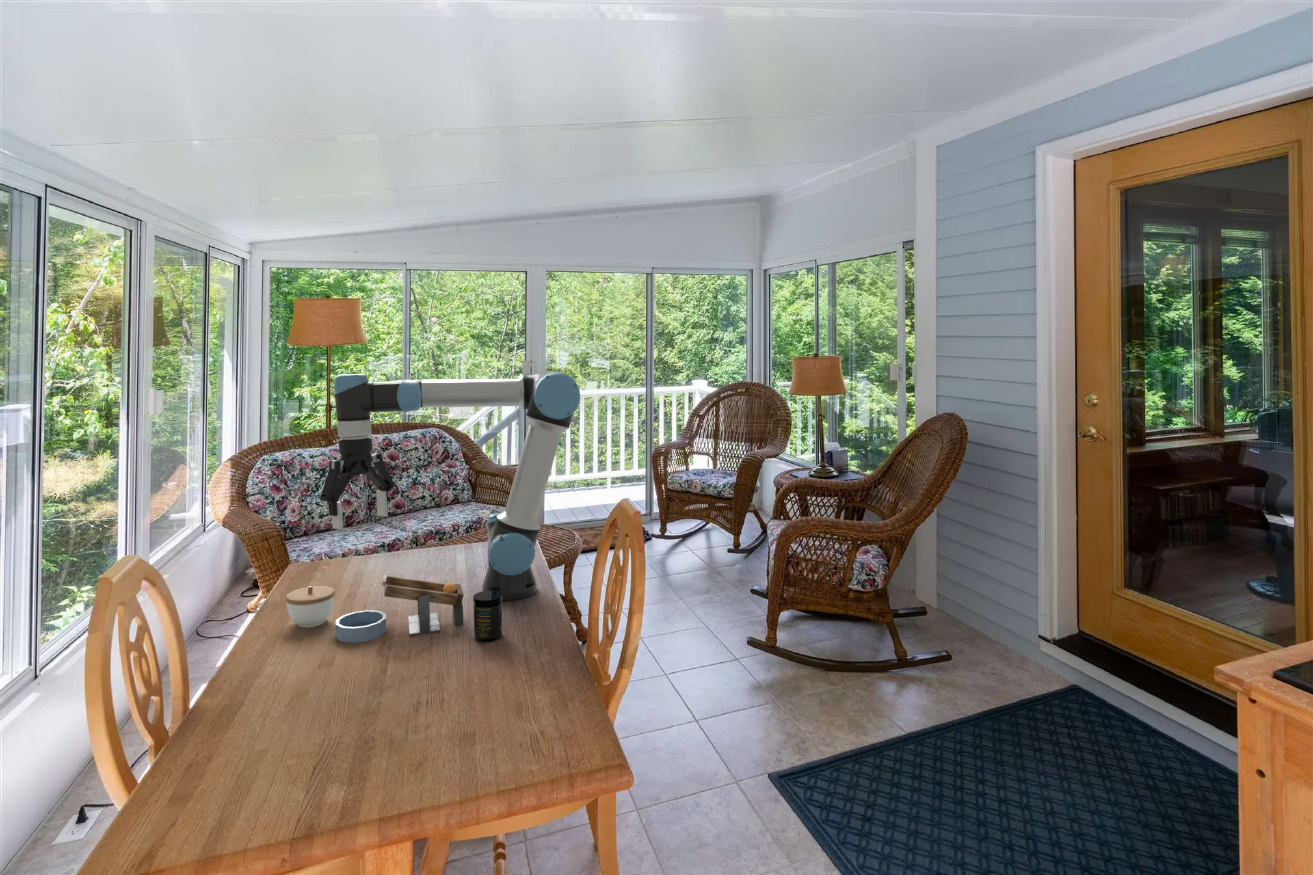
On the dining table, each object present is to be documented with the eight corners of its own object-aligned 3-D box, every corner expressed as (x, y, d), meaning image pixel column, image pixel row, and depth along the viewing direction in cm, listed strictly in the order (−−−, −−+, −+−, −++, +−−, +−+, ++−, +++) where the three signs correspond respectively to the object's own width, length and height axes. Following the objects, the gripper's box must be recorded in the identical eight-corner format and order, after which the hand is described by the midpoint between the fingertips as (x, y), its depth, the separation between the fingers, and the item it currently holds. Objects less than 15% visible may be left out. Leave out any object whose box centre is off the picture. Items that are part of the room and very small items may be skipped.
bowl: (386, 621, 168) (385, 608, 167) (386, 638, 157) (385, 624, 157) (338, 627, 163) (337, 613, 163) (334, 645, 153) (334, 630, 153)
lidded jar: (315, 633, 160) (313, 595, 159) (277, 629, 162) (275, 592, 161) (344, 616, 170) (343, 581, 169) (308, 613, 172) (306, 578, 171)
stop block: (460, 615, 172) (460, 598, 171) (463, 624, 166) (463, 605, 166) (452, 616, 171) (452, 598, 171) (455, 625, 166) (454, 606, 165)
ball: (453, 594, 169) (457, 582, 169) (454, 598, 166) (458, 586, 166) (440, 591, 168) (445, 579, 168) (441, 595, 165) (446, 583, 165)
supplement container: (503, 641, 157) (502, 599, 155) (473, 644, 155) (473, 601, 154) (502, 630, 163) (501, 589, 162) (473, 633, 161) (473, 591, 160)
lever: (455, 588, 177) (458, 577, 177) (460, 606, 165) (463, 594, 165) (382, 578, 170) (385, 567, 170) (382, 596, 157) (385, 583, 157)
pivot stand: (437, 614, 172) (436, 580, 171) (440, 632, 161) (439, 595, 160) (408, 618, 170) (407, 583, 169) (409, 636, 159) (408, 599, 158)
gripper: (383, 431, 176) (389, 509, 178) (298, 443, 153) (305, 532, 156) (405, 432, 172) (410, 512, 175) (321, 444, 150) (328, 535, 153)
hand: (361, 522), depth 165 cm, fingers open, 13 cm apart
